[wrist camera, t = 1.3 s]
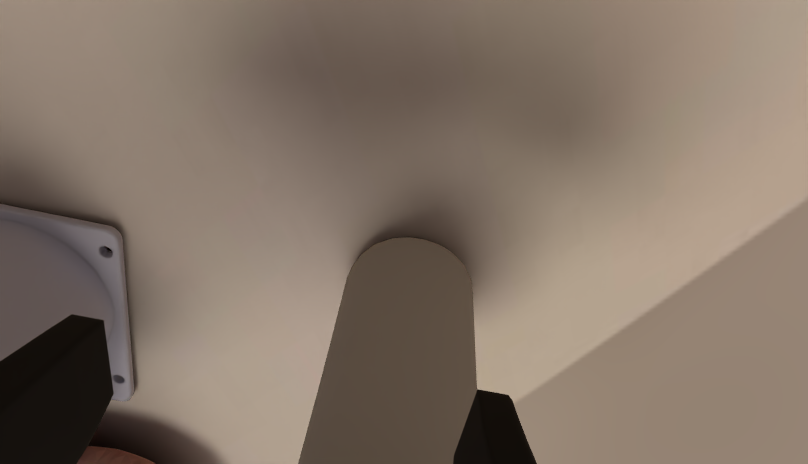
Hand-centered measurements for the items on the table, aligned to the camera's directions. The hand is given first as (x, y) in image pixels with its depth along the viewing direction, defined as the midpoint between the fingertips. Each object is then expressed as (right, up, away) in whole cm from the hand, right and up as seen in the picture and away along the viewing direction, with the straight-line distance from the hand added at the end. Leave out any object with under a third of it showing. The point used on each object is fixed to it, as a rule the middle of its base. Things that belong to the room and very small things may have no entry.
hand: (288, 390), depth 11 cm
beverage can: (+2, +1, +11) cm, 12 cm away
